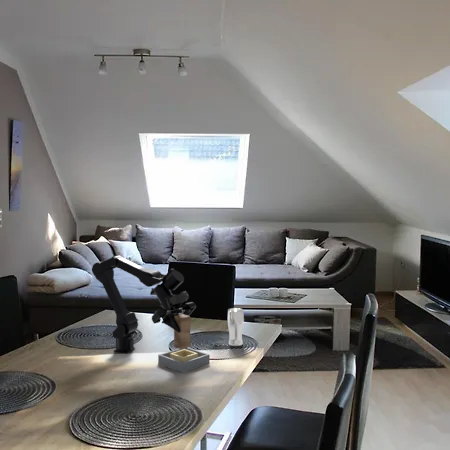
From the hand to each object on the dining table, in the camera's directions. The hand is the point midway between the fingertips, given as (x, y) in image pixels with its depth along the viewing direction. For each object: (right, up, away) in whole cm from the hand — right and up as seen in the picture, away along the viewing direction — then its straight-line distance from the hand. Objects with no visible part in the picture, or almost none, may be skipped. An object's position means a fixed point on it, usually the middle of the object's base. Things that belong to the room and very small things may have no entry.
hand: (184, 330), depth 208 cm
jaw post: (-1, -6, +2) cm, 7 cm away
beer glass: (+20, -11, +27) cm, 35 cm away
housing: (0, -13, +3) cm, 14 cm away
